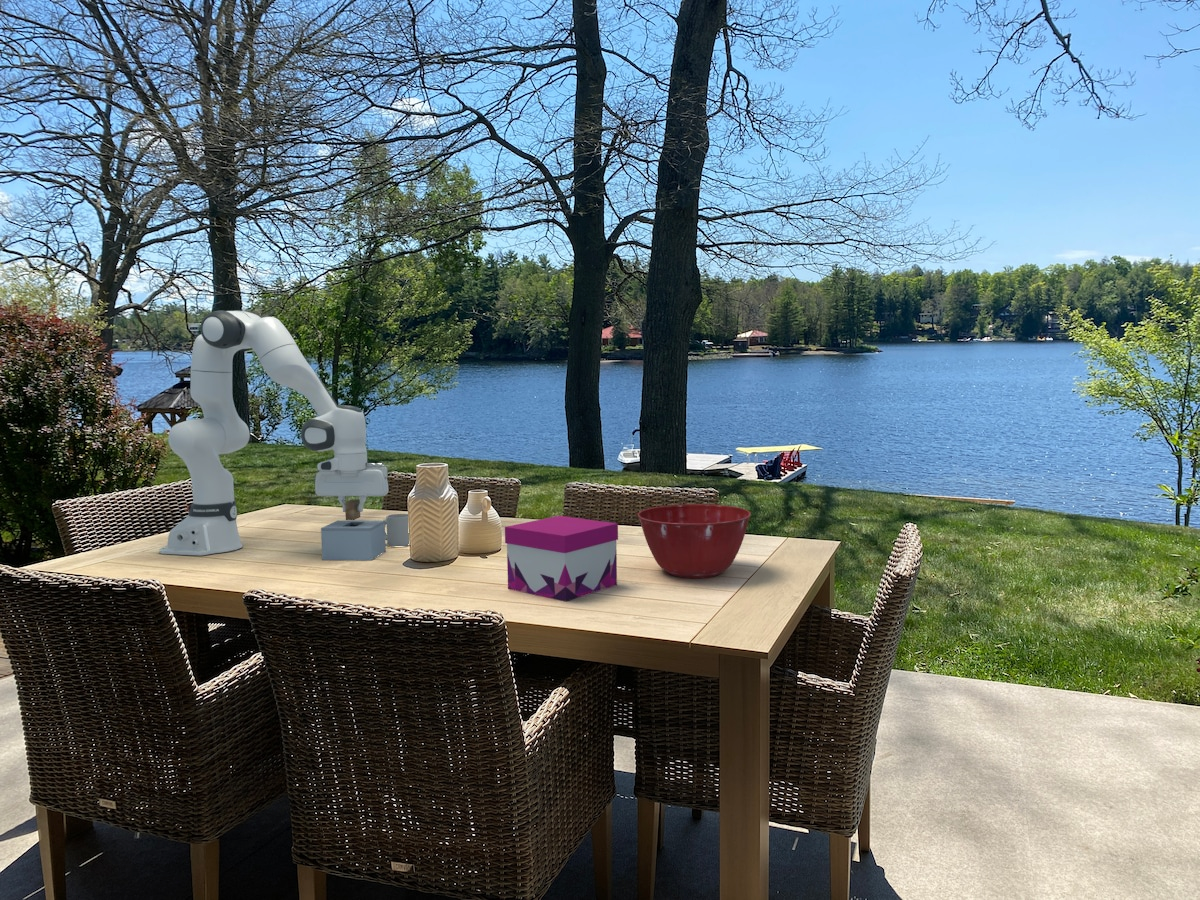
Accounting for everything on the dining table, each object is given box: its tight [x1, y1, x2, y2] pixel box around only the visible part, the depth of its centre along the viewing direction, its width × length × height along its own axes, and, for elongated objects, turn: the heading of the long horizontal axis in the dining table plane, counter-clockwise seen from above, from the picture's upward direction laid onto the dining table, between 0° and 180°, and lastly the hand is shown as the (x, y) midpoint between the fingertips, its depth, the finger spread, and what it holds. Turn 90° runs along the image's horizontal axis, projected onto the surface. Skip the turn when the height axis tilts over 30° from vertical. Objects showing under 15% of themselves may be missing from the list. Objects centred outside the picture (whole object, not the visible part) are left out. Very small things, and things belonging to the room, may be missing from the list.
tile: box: [344, 499, 361, 521], centre depth 236 cm, size 2×5×5 cm, turn 176°
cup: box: [382, 513, 409, 547], centre depth 252 cm, size 7×10×9 cm
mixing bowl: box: [637, 503, 752, 579], centre depth 212 cm, size 28×28×15 cm
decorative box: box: [504, 515, 619, 602], centre depth 199 cm, size 19×19×15 cm
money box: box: [320, 520, 387, 561], centre depth 237 cm, size 14×12×9 cm
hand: (352, 511), depth 237 cm, fingers closed on tile, 2 cm apart
